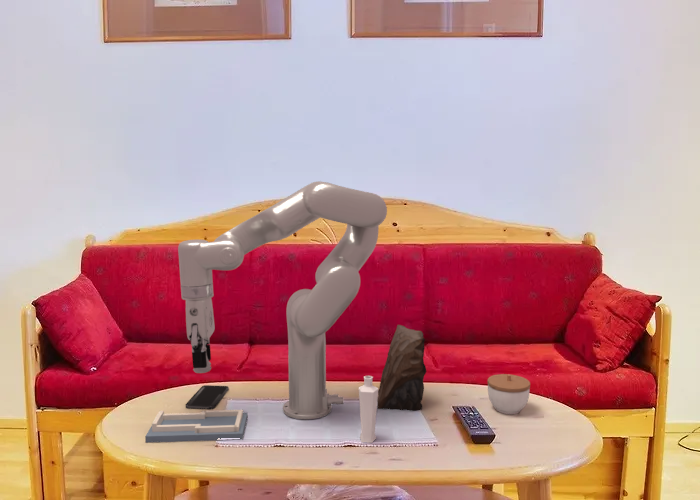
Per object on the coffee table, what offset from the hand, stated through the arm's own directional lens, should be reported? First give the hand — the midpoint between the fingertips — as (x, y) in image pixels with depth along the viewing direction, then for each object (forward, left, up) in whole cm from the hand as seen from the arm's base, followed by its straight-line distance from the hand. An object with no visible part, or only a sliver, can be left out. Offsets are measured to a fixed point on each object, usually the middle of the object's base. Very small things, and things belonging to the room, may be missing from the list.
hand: (202, 363), depth 149 cm
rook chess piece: (0, 0, -2) cm, 2 cm away
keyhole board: (0, +6, -15) cm, 16 cm away
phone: (+1, -14, -15) cm, 21 cm away
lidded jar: (-78, -1, -15) cm, 79 cm away
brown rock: (-50, -7, -15) cm, 52 cm away
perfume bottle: (-40, +14, -15) cm, 44 cm away
